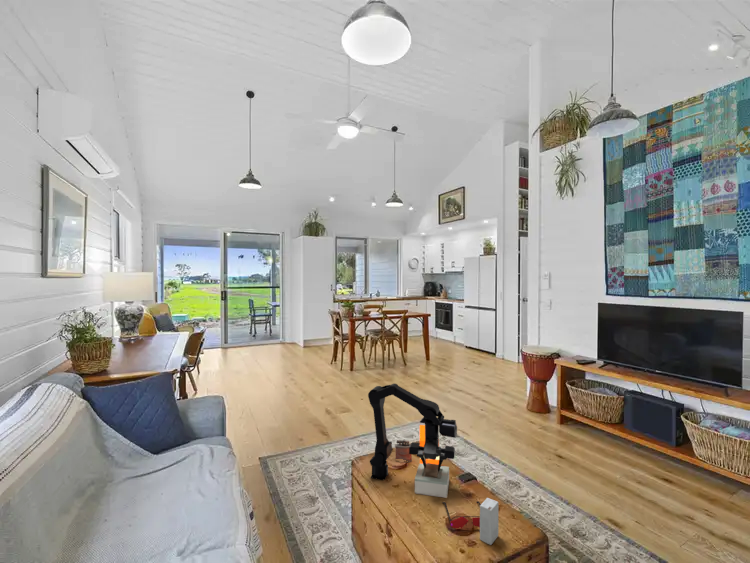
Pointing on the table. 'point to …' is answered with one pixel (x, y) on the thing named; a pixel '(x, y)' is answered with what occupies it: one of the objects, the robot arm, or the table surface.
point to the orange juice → (422, 442)
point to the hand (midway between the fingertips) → (432, 470)
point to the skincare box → (489, 521)
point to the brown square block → (431, 470)
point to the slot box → (432, 482)
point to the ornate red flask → (403, 450)
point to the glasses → (463, 520)
